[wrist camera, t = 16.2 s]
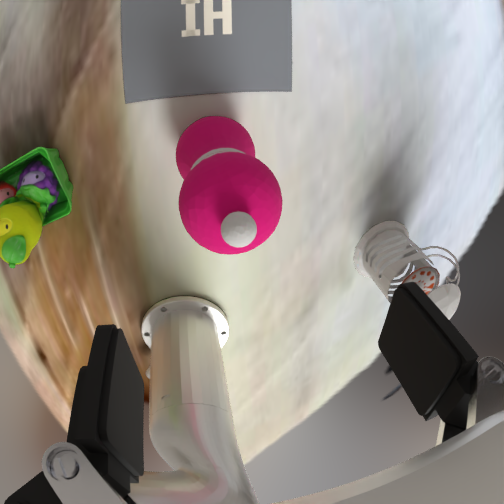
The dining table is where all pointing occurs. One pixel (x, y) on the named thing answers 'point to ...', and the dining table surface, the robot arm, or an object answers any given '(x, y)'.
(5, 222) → the fruit basket
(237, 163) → the pepper mill
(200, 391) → the robot arm
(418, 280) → the french press
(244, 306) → the dining table surface
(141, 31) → the tile
